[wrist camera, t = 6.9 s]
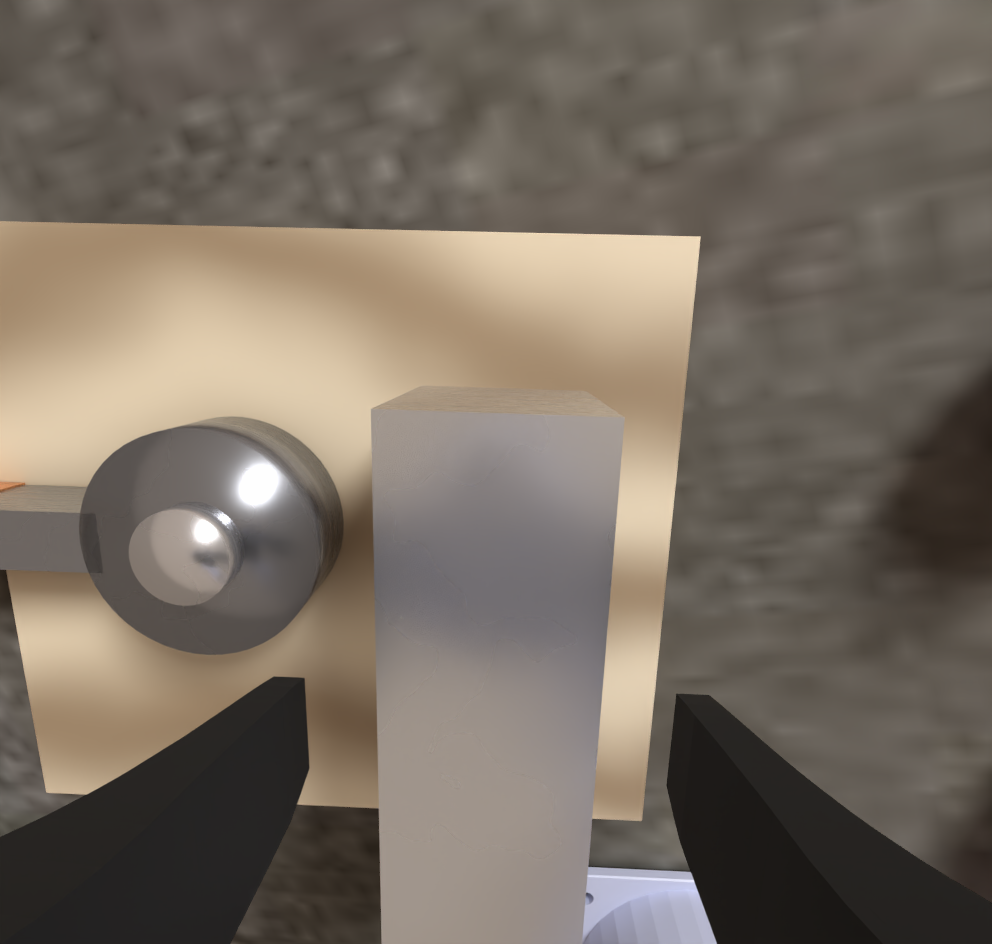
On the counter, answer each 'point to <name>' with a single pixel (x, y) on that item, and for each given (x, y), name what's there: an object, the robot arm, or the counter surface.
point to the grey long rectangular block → (490, 656)
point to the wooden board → (320, 446)
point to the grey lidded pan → (189, 532)
